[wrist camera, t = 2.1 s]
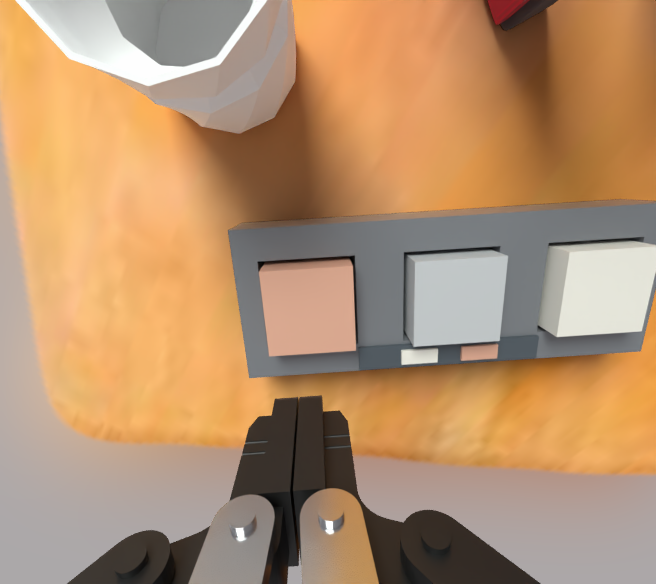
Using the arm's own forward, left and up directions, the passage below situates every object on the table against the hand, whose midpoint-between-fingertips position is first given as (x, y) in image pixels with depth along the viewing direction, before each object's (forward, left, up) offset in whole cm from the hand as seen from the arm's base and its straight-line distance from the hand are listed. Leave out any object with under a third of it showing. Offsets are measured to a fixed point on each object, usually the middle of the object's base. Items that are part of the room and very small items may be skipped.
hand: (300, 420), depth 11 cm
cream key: (-18, 0, -13) cm, 22 cm away
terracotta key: (0, 0, -13) cm, 13 cm away
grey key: (-9, 0, -13) cm, 16 cm away
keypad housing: (-9, 0, -15) cm, 18 cm away
